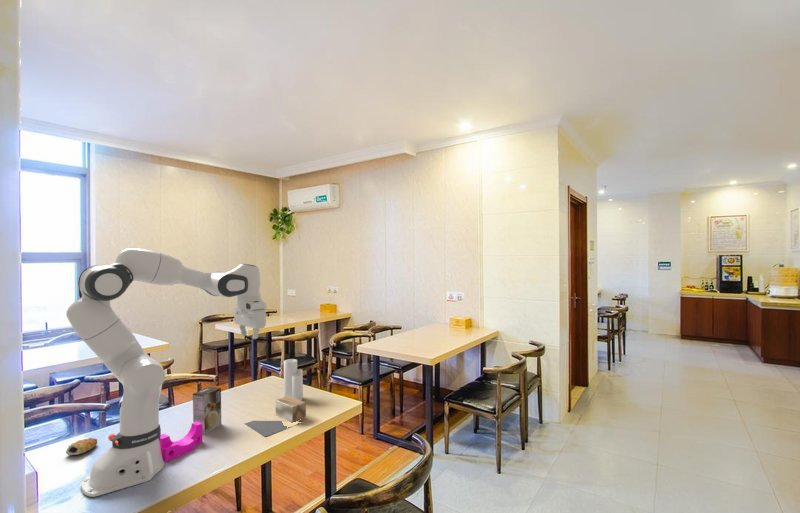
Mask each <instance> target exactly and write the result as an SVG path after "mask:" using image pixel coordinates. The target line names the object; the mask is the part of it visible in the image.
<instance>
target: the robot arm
mask: <svg viewBox="0 0 800 513" xmlns="http://www.w3.org/2000/svg"><path fill="white" fill-rule="evenodd" d="M134 281H137V282H142V283H145V284H146V283H147V284H151V285H159V286H174V285H179V284H180V285H186V286H189V287H195V288H199V289H201V290H203V291H205V292H206V293H207V294H209V295H211V296H213V297H222V298H233V297H236V296H237V301H236V302H237V304H236V307H235V308H234V313H233V314H234V316H233V317H234V318H233V321H234V324H235V325H238V326H239V330H240V335H241V336H242V337H246V336H247V335H248V331H247V330H246V327H247V328H252V331H253V333H252V334H251V338H252V339H253V340H256V339H257V340H258V338H259V333H260V329H263V328H264V329H265V326H266V322H267V312H266V309H267V303H266V302H265V301H264V300H262V298H261V291H260V288H261V273H260V269H259V267H258V266H256V265H254V264H247V263H240V264H238V266H236V267H235V268H233V269H232V270H229V271H226V272H224V271H223V272H222V271H213V272H203V271H199V270H195V269H191V268H188V267H186V266H184V265H183V263H182V261H180V260H179V259H178V258H176V257H173V256H171V255H169V254H166V253H162V252H158V251H154V250H149V249H143V248H135V247H134V248H133V247H132V248H125V249H123V250H121V251H120V252H119V253H118V255H117V257H116V258H115V261H114V262H113V263H111V264H108V265H107V264H97V265H92V266H88V267H87V268H85V269H84V270H83V271H82V272H81V273H80V275H79V277H78V283H77V284H78V296H79V299H78V300H76V301H74V302H73V303H71V304H70V306H68V308H67V310H66V313H65V314H66V318H67V320H68V321H69V323H70V325H71V326H72V328H73V330H74V331H75V332H76V334H77V335H78V337H80V339H81V340H82V341H83V342H84V343H85V344H86V345H87V346H88V348H90V350H91V351H92V352H93V353H94V354H95V355H96V356H97V358H98V359H100V361H101V362H102V363H103V365H104V366H105V367H106V368H107V369H108V370H109V371H110V372H111V374H113V376H114V377H115V378H116V379H117V380H118V381H119V383H121V384H122V386H123V391H122V392H123V393H122V394H123V395H122V400H121V406H120V409H119V432H117V434H115V433H110V434H109V435H108V436H107V439H108V440H109V442H111V443H112V444H111V447H109V449H107V450H106V451H105V452H104V453H103V454H101V455H100V456H99V457H98V458H97V459H96V460H95V461H94V462H93V464H92V466H91V468H90V474H89V475H88V476H85V478H83V480H82V481H81V484H80V489H81V492H82V493H83V494H84V495H85V496H87V497H91V498H94V497H98V496H103V495H106V494H109V493H111V492H115V491H119V490H123V489H126V488H130V487H132V486H135V485H140V484H142V483H146V482H149V481H151V480H152V479H153V478H154V477H155V475H156V474H158V473H159V472H160V471H161V470H162V469H164V467H165V465H166V462H164V461H163V458H162V454H161V449H160V437H161V435H162V434H161V433H162V430H161V424H160V423H159V422H160V418H159V417H160V409H159V407H160V397H161V393H162V387H163V383H165V382H164V381H165V379H166V377H165V376H166V373H165V370H164V367H163V366H162V364H161V362H159V361H157V360H156V359H154V358H153V357H151V356H150V355H149V354H148V353H147V352H146V351H145V350H144V348H143V347H142V345H141V344H140V343H139V341H138V340H137V338H136V337H135V335H134V334H133V332H131V330H130V328H128V327H127V325H126V324H125V323H124V322H123V320H121V318H120V317H119V316H118V314H116V312H115V311H114V310H113V308H112V306H111V301H113V300H115V299H119V297H121V296H122V295H123V294H124V293H125V292H126V291H127V289H128V288H129V287H130V286H131V284H132V283H133V282H134Z"/></svg>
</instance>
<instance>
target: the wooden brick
mask: <svg viewBox="0 0 800 513" xmlns="http://www.w3.org/2000/svg"><path fill="white" fill-rule="evenodd" d="M306 406H307V404H306V402H305V401H303V400H302V401H301V400H298V399H296V398H293V397H291V396H287V397H284V396H283V397H282V398H279V399H278V398H277V399H275V416H276V417H278V418H281V419H282V420H284V419H285V420H284V421H286V420H287V421H289V422H291V423H293V422H296V421H298V420H300V419H303V418H305V417H307V416H306V415H307V407H306ZM305 419H306V418H305ZM303 420H304V419H303ZM300 421H301V420H300Z"/></svg>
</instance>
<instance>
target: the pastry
mask: <svg viewBox="0 0 800 513" xmlns="http://www.w3.org/2000/svg"><path fill="white" fill-rule="evenodd" d="M97 444H98V439H97V438H92V437H89V438H85V439H81V440H80V439H79V440H76V441H75V442H73V443H71V444H70V445H68V448H66V450H65V454H66V455H67V456H73V455H81V454H84V453H86V452H88V451H90V450H92V449H93V448H95V447H96V446H97Z"/></svg>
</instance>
